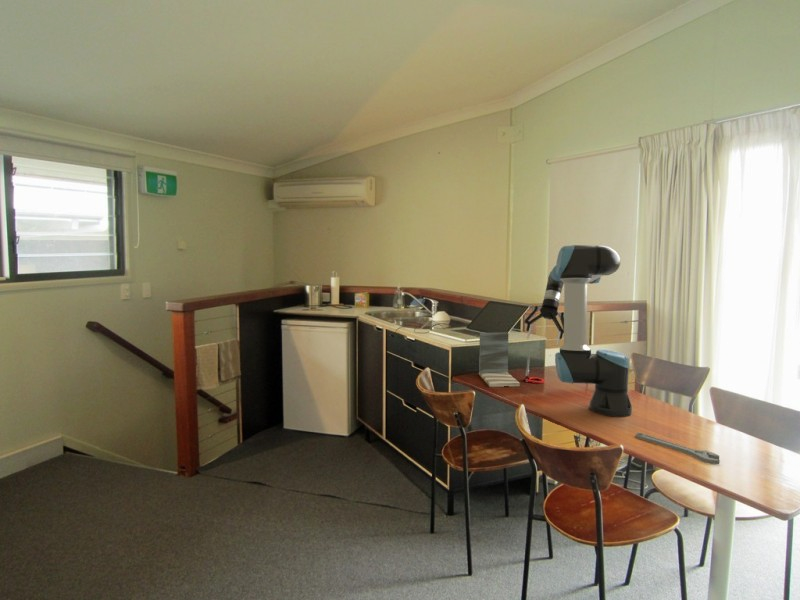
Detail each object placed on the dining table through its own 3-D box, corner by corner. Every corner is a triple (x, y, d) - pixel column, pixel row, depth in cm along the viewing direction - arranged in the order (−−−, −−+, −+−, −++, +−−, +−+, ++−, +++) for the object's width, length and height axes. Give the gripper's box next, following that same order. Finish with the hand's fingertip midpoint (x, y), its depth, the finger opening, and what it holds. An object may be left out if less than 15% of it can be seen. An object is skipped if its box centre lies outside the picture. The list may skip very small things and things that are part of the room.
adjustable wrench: (633, 438, 158) (633, 433, 158) (645, 434, 161) (645, 429, 161) (713, 466, 136) (714, 460, 136) (725, 461, 140) (725, 456, 139)
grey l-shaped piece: (519, 386, 217) (520, 340, 215) (489, 386, 217) (490, 340, 214) (506, 374, 239) (507, 332, 237) (479, 374, 238) (479, 332, 236)
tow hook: (544, 380, 229) (524, 378, 231) (546, 354, 227) (526, 352, 230) (545, 385, 221) (525, 383, 223) (547, 358, 219) (527, 356, 221)
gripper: (575, 309, 231) (567, 350, 224) (524, 297, 236) (515, 336, 230) (579, 304, 224) (570, 346, 217) (526, 292, 230) (516, 332, 223)
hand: (542, 341), depth 224 cm, fingers open, 13 cm apart
